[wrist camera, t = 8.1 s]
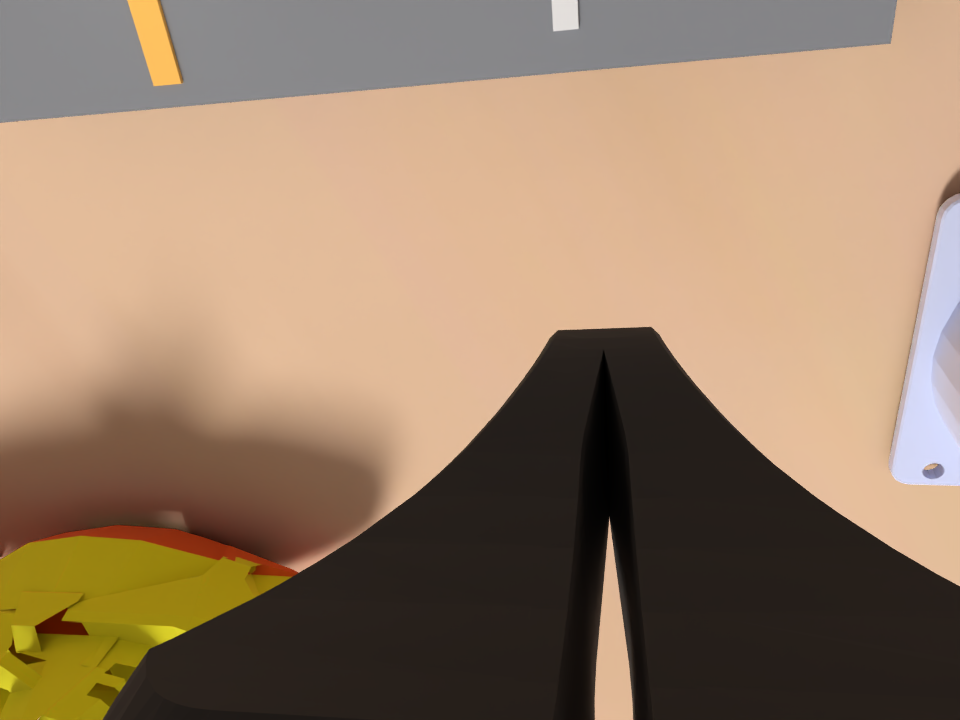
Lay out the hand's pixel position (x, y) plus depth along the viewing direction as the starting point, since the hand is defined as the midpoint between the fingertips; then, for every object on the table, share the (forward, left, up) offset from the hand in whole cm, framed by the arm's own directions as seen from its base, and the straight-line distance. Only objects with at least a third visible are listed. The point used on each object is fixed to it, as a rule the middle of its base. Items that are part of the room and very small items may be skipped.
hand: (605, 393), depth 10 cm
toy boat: (+18, +13, -10) cm, 24 cm away
